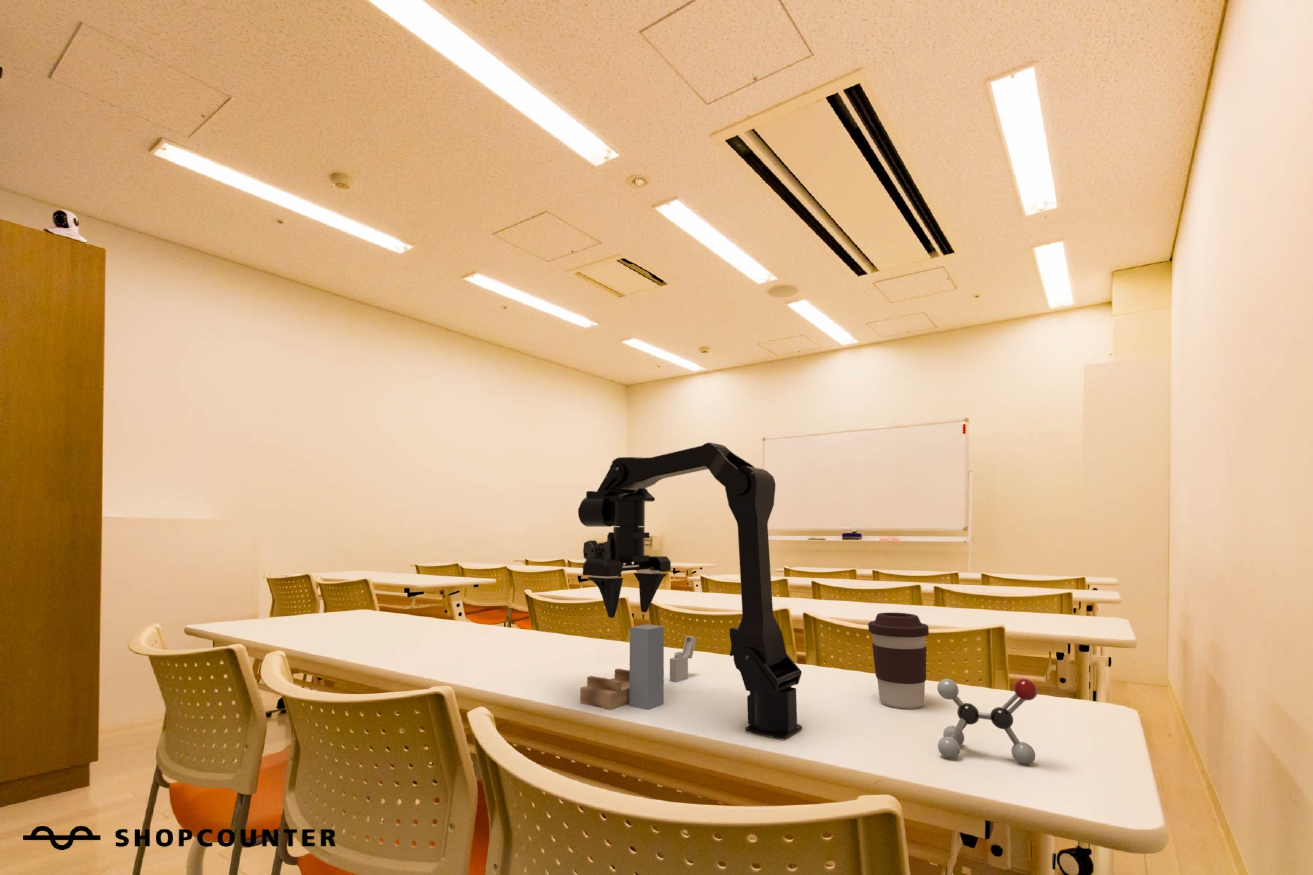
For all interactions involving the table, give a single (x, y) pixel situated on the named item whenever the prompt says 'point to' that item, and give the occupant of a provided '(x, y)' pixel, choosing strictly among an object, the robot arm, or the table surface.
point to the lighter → (682, 661)
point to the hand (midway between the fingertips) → (628, 614)
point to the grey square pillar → (646, 666)
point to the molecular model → (998, 717)
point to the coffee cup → (900, 659)
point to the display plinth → (607, 690)
